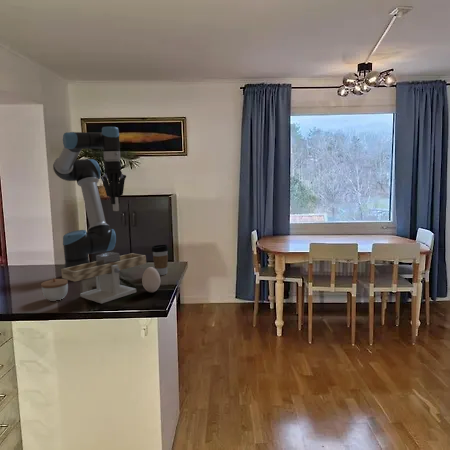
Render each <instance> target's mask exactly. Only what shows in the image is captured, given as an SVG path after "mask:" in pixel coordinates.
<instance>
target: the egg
mask: <svg viewBox="0 0 450 450" xmlns="http://www.w3.org/2000/svg"><path fill="white" fill-rule="evenodd" d="M141 281H142V282H141V284H142V286H143V288H144V289H145V291H147V292H148V293H155V292H156V291H157V290H158V289H159V288H160V286H161V275H159V273H158V271H157V270H156V269H155V267H153V266H149V267H147V268H146V269H145V270H144V272H143V274H142V277H141Z"/></svg>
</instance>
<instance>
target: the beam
mask: <svg viewBox="0 0 450 450" xmlns="http://www.w3.org/2000/svg"><path fill="white" fill-rule="evenodd" d="M89 262H90V261H89ZM145 264H147V256H146V254H140V253H134V252H131V253H128V254H127V253H126V254H123V255H120V261H117V262H111V263H108V264H104V265H100V266H97V263H96V261H95V260H94V261H91V262H90V263H86V264H81V265H77V266H72V267H68V268H64V267H63V268H61V269H60V271H61V272H60V273H61V279H66V280H68V281H71V282H79V281H83V280H86V279H92V278H94V277H95V278H96V276H99V275H103V274H107V273H111V272H112V269H111V266H113V265H118V268H119V270H120V271H122V270H126V269H130V268H133V267H137V266H141V265H145Z"/></svg>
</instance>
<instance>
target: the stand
mask: <svg viewBox="0 0 450 450" xmlns="http://www.w3.org/2000/svg"><path fill="white" fill-rule="evenodd" d="M111 269H112V272H111V273H107V274H103V275H99V276H95V283H96V284H95V285H96V288H94V289H91V290H87V291H84V292H80V298H83V299H86V300H90V301H93V302H96V303H99V304H105V303H108V302H111V301H113V300H117V299H119V298H122V297H126V296H129V295H131V294H132V295H133V294H135V293H137V288H135V287H131V286H127V285H122V284H120V271H121V270H119V268H118V265H113V266H111Z"/></svg>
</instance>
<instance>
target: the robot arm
mask: <svg viewBox="0 0 450 450" xmlns="http://www.w3.org/2000/svg"><path fill="white" fill-rule="evenodd" d="M62 143H63V148H62V151H60V152H61V153H60V154H59V157H58V158H56V159H55V160H54V162H53V165H52V170H53V172H54V173H55V175H56V176H57V177H58V178H59V179H62V180H63V181H67V182H76V184H77V186H79V187H81V192H82V196H83V201H84V207H85V210H86V214H87V215H86V216H87V219H88V224H89V227H88V229H87V230H86V229H79V230H78V229H77V230H73V231H69V232H67V233H65V234H64V235H63V236H62V245H63V254H64V267H63V268H68V267H72V266H77V265H81V264H86V263H90V257H89V255H92V254H98V253H99V254H101V253H108V252H112V251H113V250H114V249H115V247H116V243H117V235H116V231H115V229H114V228H111V227H110V224H108V223H107V221H106V217H105V213H104V209H103V205H102V200H101V196H100V193H99V189H98V183H99V181H100V180H101V181H102V183H103V187H104V190H105V193H106V197H109V198H110V203H111V205H112V211H113V212H119V211H120V206H119V205H120V203H121V201H120V199H121V197H122V196H123V195H124V190H125V189H124V187H125V180H126V178H127V174H123V172H122V170H121V169H122V161H121V160H122V159H121V145H120V144H121V143H120V130H119V127H116V126H102V128H101V132H93V131H92V132H85V131H83V132H82V131H81V132H80V131H79V132H78V131H77V132H76V131H71V132H64V133H63V136H62ZM84 149H85V150H86V149H101V150H102V151H103V160H104V169H105V171H104V175H103V176H101V175H102V173H101V168H100V164H99V163H98V161H97V160H96V159H94V158H91V159H90V158H83V159H77V158H78V157H79V155H80V153H81V151H83V150H84Z"/></svg>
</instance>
